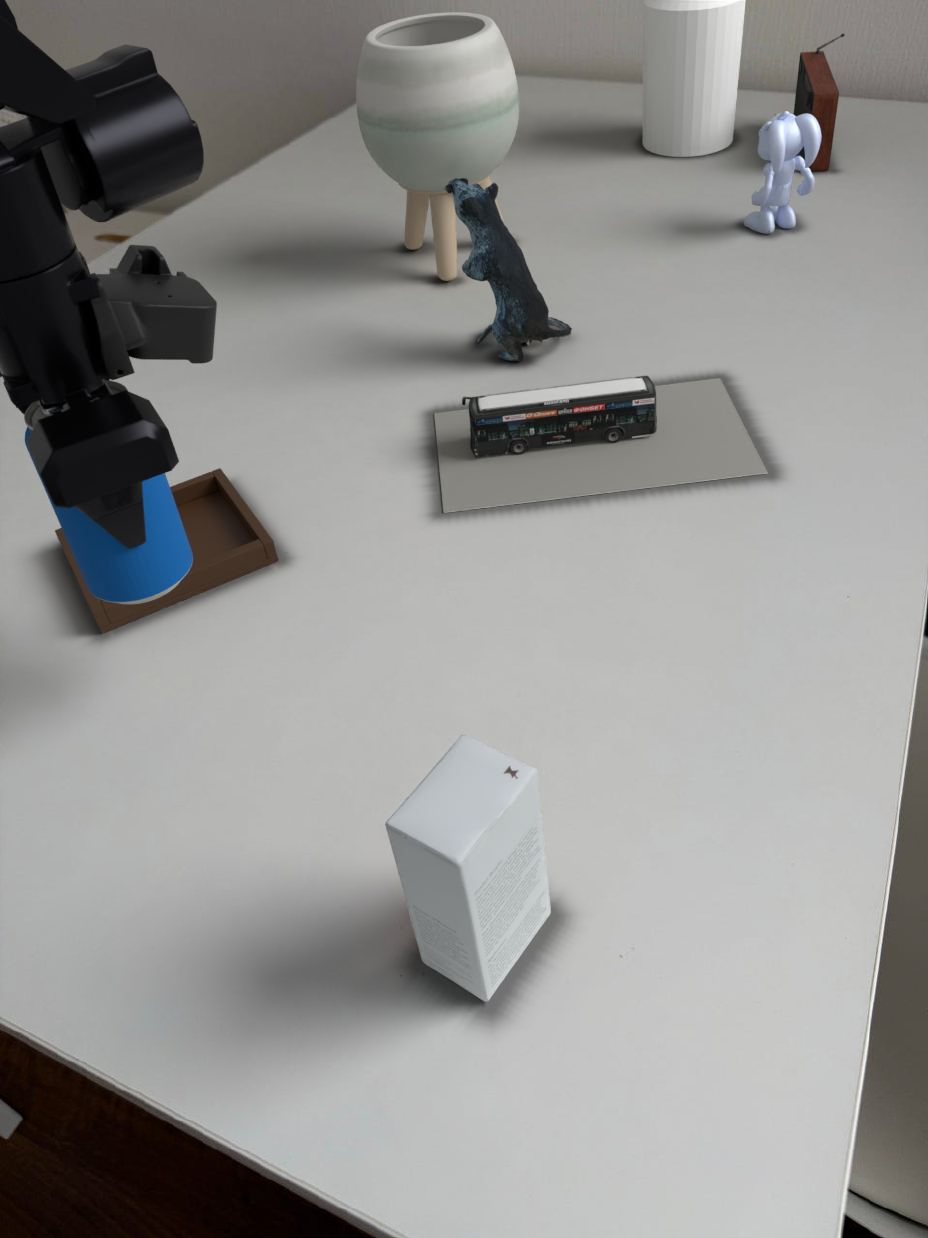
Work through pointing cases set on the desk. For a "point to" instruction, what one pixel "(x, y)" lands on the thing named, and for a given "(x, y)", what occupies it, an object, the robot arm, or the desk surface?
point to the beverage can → (106, 559)
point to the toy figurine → (783, 168)
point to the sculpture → (502, 272)
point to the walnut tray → (196, 547)
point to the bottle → (690, 74)
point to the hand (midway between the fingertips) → (121, 514)
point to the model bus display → (589, 441)
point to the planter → (437, 114)
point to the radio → (817, 100)
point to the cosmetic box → (473, 864)
